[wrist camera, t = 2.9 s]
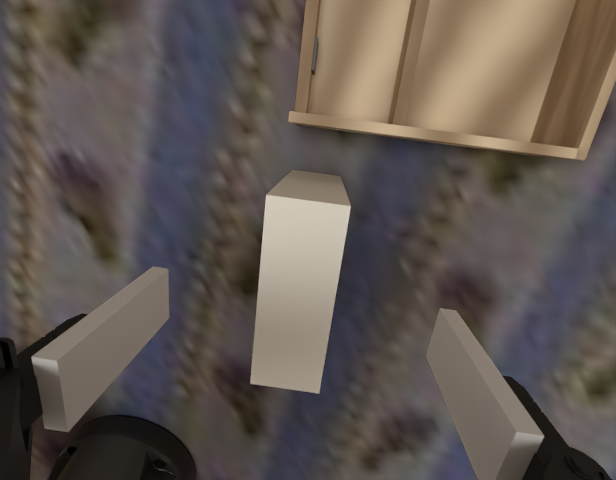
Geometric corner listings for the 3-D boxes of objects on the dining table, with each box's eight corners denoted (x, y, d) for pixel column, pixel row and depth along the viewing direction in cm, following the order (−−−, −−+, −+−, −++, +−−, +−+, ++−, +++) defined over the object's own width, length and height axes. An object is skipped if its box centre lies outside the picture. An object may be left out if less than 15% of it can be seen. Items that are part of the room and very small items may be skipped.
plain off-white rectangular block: (276, 288, 30) (244, 382, 18) (288, 169, 26) (259, 194, 15) (322, 295, 30) (319, 393, 18) (340, 176, 26) (350, 206, 15)
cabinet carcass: (297, 124, 25) (288, 121, 20) (325, -142, 20) (325, -251, 15) (525, 155, 25) (584, 160, 19) (611, -108, 20) (725, -206, 14)
